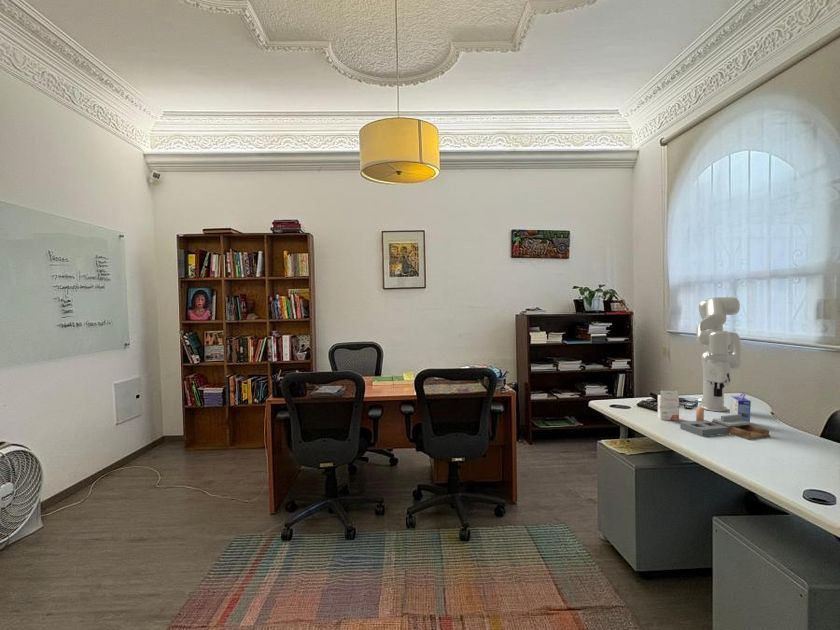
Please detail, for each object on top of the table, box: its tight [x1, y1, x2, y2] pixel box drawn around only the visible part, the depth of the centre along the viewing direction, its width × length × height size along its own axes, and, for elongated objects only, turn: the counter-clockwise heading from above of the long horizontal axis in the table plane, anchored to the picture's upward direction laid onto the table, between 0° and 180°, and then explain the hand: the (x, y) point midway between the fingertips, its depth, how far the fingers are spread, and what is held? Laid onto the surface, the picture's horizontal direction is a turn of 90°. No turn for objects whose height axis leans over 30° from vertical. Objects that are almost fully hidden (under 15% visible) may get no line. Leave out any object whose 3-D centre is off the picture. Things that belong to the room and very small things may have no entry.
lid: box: [712, 414, 751, 426], centre depth 198 cm, size 9×11×3 cm
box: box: [711, 420, 771, 440], centre depth 194 cm, size 18×12×3 cm, turn 12°
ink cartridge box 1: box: [657, 390, 680, 421], centre depth 216 cm, size 9×5×15 cm, turn 76°
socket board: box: [679, 419, 730, 437], centre depth 196 cm, size 12×14×3 cm
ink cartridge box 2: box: [729, 392, 752, 423], centre depth 207 cm, size 10×6×14 cm, turn 163°
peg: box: [695, 406, 705, 421], centre depth 206 cm, size 3×3×8 cm
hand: (718, 396), depth 204 cm, fingers closed
